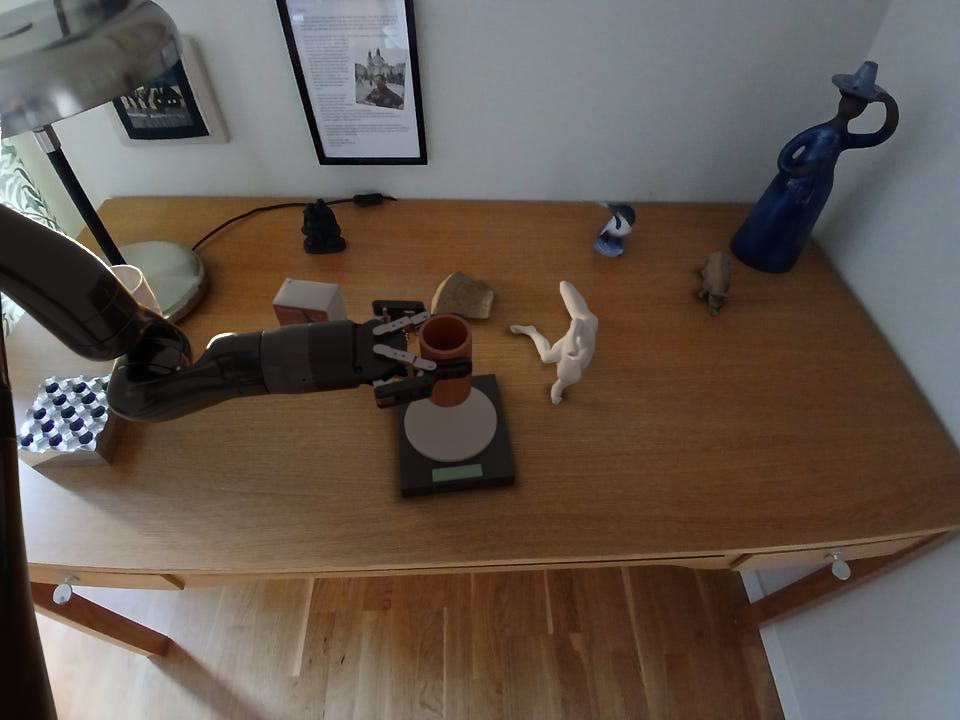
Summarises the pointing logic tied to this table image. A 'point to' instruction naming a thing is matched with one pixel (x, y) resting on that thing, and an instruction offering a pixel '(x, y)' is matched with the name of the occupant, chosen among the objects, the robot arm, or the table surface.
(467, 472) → the scale
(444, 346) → the cup
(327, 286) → the small box
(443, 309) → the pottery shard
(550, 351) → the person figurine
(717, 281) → the rhino figurine
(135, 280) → the white cup
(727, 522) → the table surface
